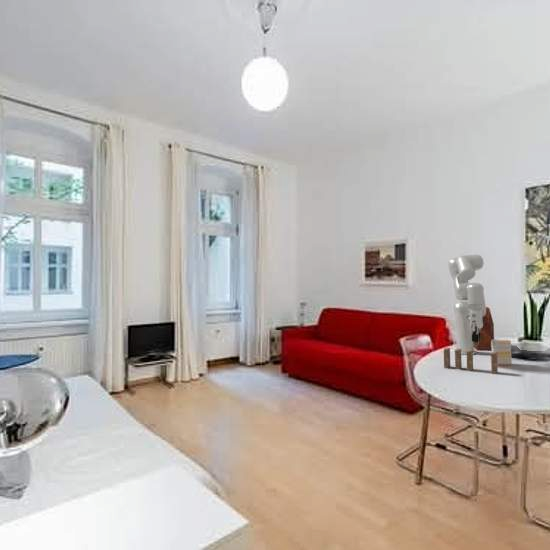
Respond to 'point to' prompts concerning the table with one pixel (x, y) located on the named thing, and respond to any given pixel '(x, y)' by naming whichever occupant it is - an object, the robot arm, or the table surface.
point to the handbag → (486, 332)
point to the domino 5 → (494, 362)
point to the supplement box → (502, 351)
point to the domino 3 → (469, 360)
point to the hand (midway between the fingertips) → (476, 340)
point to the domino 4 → (478, 341)
